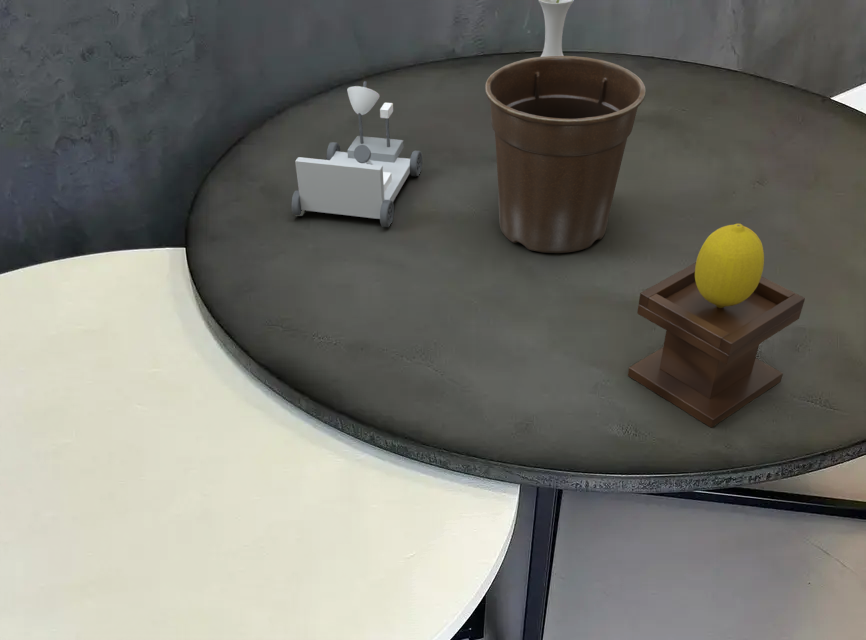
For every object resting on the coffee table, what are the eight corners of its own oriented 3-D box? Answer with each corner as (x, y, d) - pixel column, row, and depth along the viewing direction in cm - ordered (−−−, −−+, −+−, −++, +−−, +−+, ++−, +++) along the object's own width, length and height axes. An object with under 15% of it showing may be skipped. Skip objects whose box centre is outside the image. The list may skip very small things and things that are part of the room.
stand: (780, 381, 92) (805, 297, 85) (711, 428, 88) (731, 343, 81) (696, 334, 98) (713, 251, 91) (627, 375, 93) (640, 292, 87)
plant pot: (598, 184, 119) (613, 46, 107) (648, 253, 108) (670, 107, 96) (467, 202, 117) (468, 63, 105) (504, 274, 106) (510, 128, 94)
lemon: (676, 296, 88) (692, 214, 82) (732, 284, 89) (750, 203, 83) (707, 330, 84) (725, 247, 79) (764, 317, 86) (786, 235, 80)
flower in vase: (498, 91, 138) (504, -114, 120) (577, 82, 140) (594, -122, 122) (522, 131, 129) (532, -83, 111) (606, 122, 131) (629, -92, 113)
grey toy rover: (335, 74, 120) (426, 81, 118) (341, 151, 127) (428, 160, 125) (282, 140, 108) (382, 150, 106) (292, 221, 115) (387, 232, 113)
